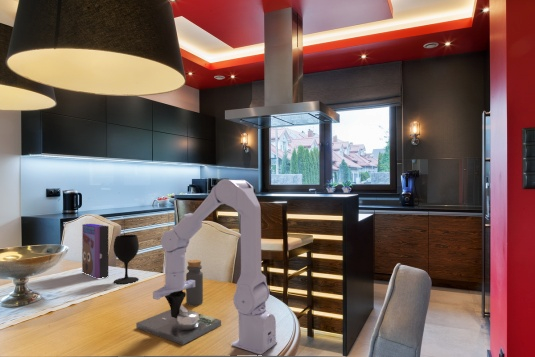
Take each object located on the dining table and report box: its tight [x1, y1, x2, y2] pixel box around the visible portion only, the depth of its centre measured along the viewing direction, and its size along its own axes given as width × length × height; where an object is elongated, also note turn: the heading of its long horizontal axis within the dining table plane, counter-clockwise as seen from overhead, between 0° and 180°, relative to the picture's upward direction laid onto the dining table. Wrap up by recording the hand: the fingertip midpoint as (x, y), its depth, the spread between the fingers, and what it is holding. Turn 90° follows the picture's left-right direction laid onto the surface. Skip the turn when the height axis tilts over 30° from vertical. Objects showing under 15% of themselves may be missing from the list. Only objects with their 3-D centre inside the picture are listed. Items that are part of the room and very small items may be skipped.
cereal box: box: [81, 223, 109, 279], centre depth 160 cm, size 17×5×24 cm, turn 50°
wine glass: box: [113, 234, 140, 285], centre depth 150 cm, size 10×10×20 cm
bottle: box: [185, 259, 204, 307], centre depth 120 cm, size 6×6×15 cm
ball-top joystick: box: [177, 304, 200, 330], centre depth 99 cm, size 12×6×4 cm, turn 35°
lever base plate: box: [135, 309, 222, 346], centre depth 100 cm, size 20×15×2 cm
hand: (175, 317), depth 100 cm, fingers closed
